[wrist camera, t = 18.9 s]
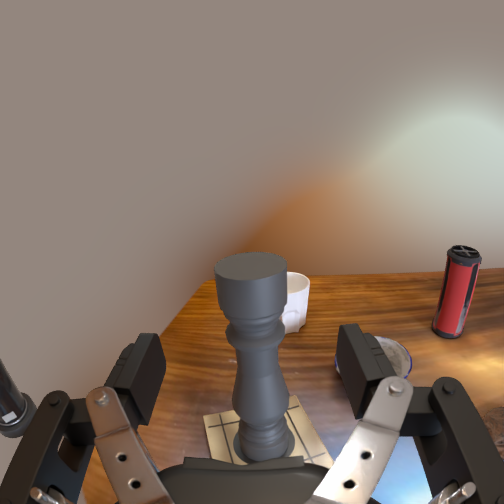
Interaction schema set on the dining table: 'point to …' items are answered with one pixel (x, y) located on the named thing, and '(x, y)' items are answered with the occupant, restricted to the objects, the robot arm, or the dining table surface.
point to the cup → (295, 302)
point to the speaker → (456, 291)
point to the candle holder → (256, 348)
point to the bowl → (393, 356)
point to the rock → (496, 427)
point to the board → (299, 437)
